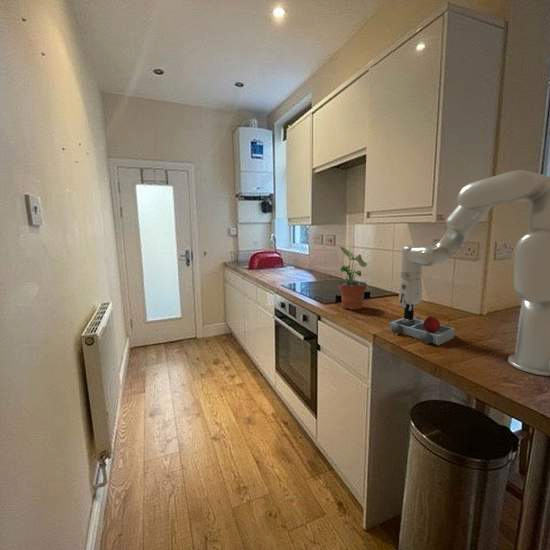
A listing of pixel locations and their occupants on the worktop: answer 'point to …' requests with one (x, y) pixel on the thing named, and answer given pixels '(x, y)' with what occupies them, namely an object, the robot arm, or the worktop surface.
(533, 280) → the robot arm
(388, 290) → the worktop surface
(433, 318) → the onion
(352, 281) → the potted plant
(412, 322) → the spare wheel
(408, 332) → the chassis
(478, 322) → the worktop surface
